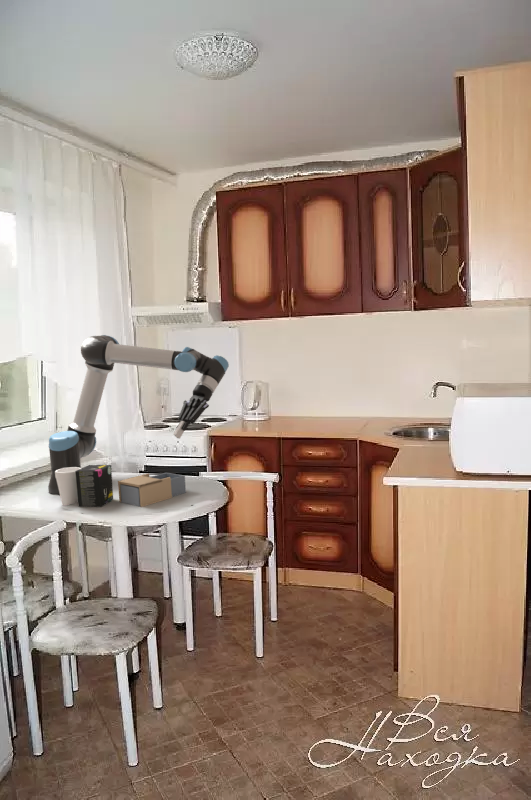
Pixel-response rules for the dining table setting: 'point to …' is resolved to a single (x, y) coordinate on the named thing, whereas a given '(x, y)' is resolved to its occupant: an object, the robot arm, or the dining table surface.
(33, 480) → the dining table surface
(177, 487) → the drawer tray
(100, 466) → the tampon box
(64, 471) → the foam cup
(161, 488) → the mailer sleeve
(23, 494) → the dining table surface
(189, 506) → the dining table surface
